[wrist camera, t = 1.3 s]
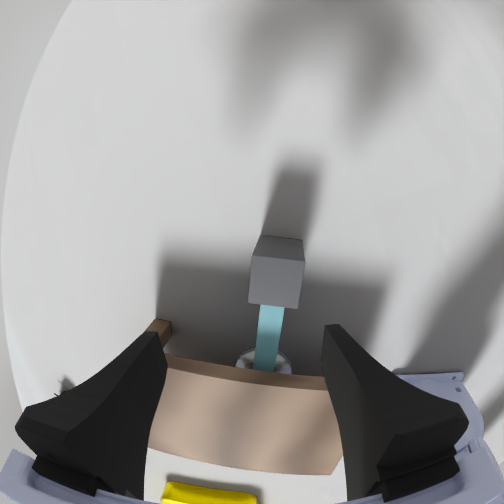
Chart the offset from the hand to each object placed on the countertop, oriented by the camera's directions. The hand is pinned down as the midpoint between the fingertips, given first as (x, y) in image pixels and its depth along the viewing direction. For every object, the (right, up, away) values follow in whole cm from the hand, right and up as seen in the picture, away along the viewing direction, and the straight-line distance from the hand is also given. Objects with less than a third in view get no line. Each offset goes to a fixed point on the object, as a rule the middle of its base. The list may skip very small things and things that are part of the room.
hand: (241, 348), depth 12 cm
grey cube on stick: (+2, -3, +12) cm, 12 cm away
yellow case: (-6, -39, +24) cm, 46 cm away
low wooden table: (0, -9, +13) cm, 16 cm away
